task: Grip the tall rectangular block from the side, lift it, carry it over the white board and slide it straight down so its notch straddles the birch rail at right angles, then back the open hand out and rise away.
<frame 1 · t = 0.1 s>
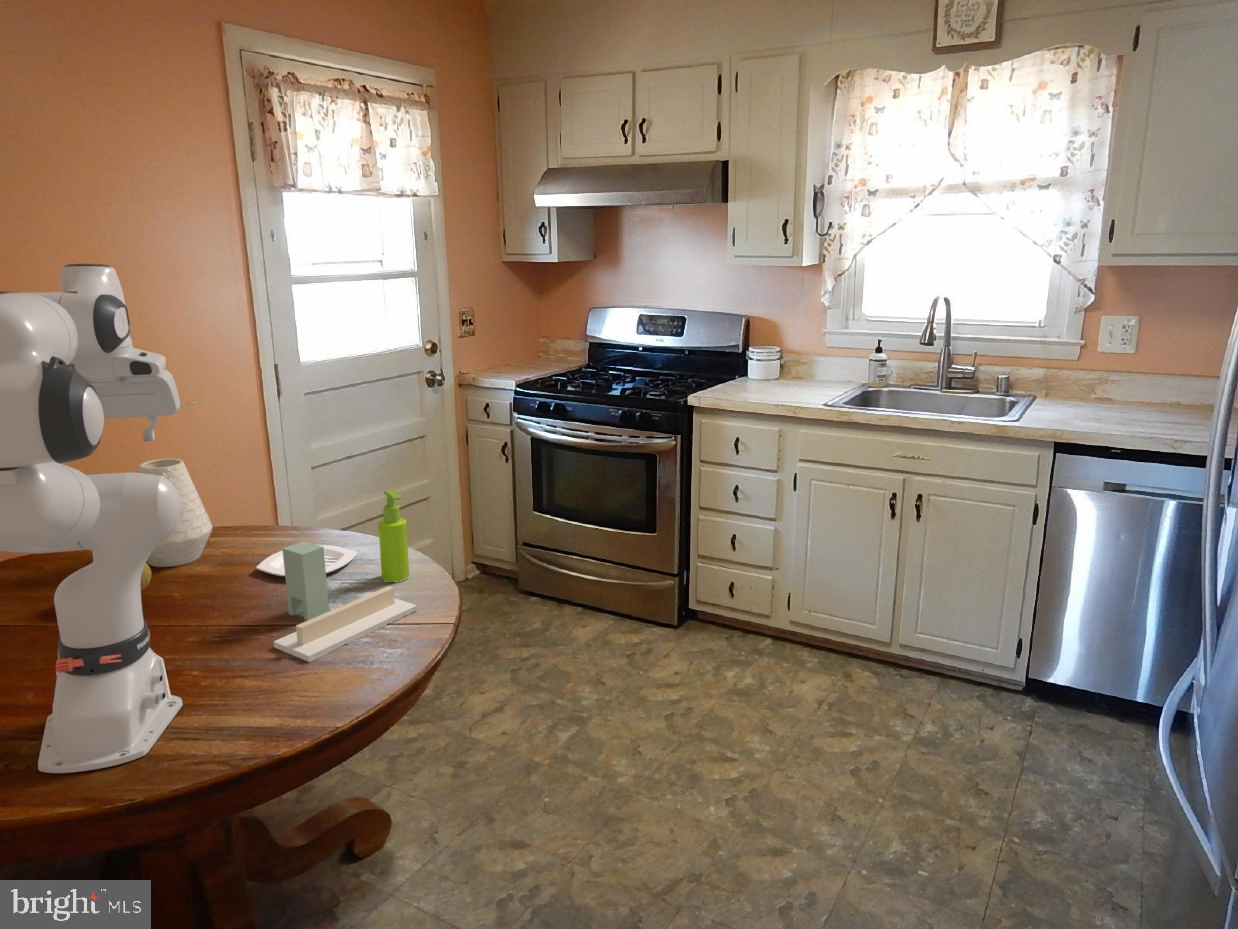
hand: (118, 441, 146), 39 cm above the table, tool pointing down, fingers open, 8 cm apart
tall rectangular block: (309, 613, 171), on the table
soap dispenser: (396, 579, 189), on the table
rail board: (349, 628, 165), on the table
plate: (308, 568, 196), on the table
fruit: (121, 601, 176), on the table
vase: (174, 559, 199), on the table
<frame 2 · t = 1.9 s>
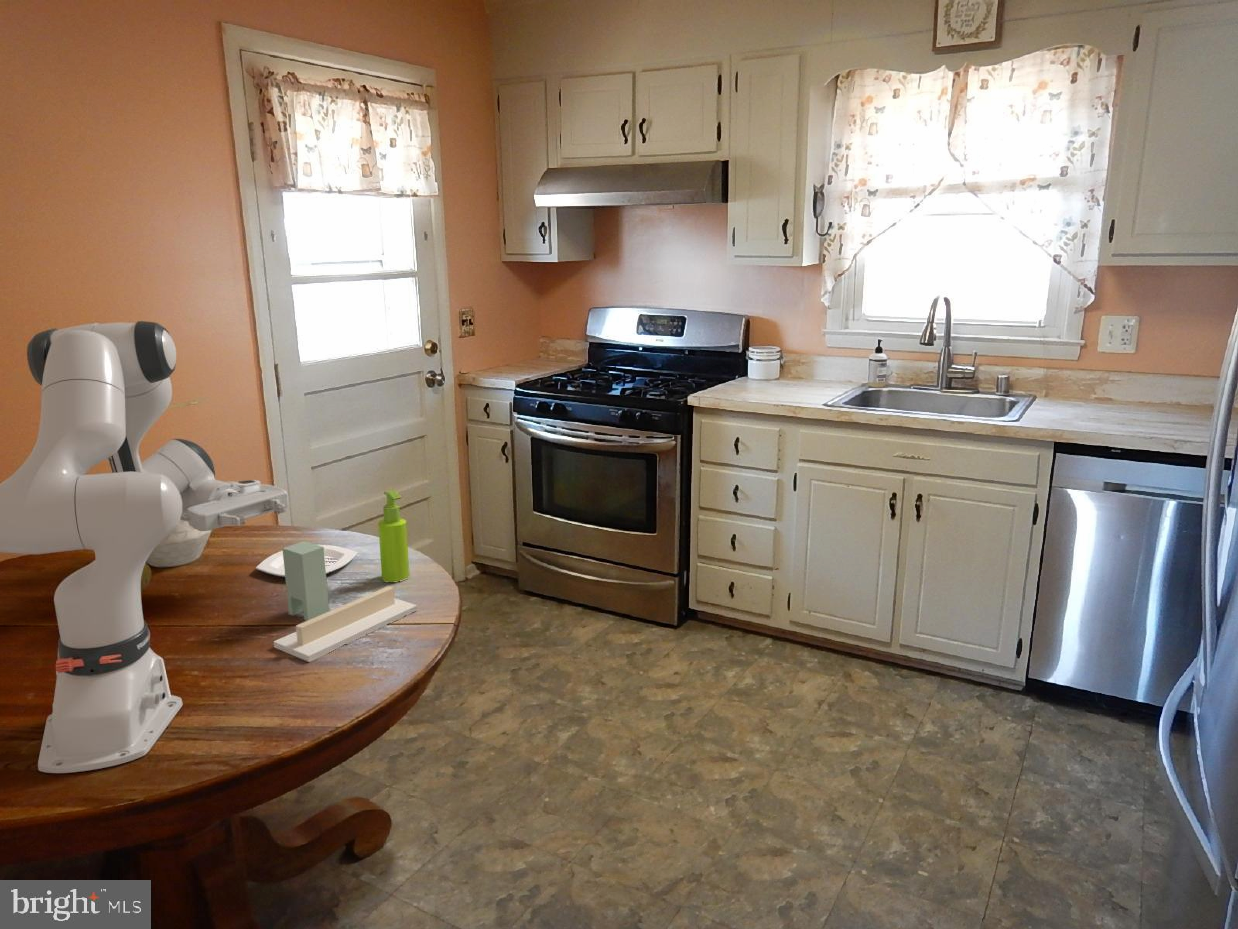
hand: (262, 515, 173), 18 cm above the table, tool horizontal, fingers open, 8 cm apart
nothing on the table moved.
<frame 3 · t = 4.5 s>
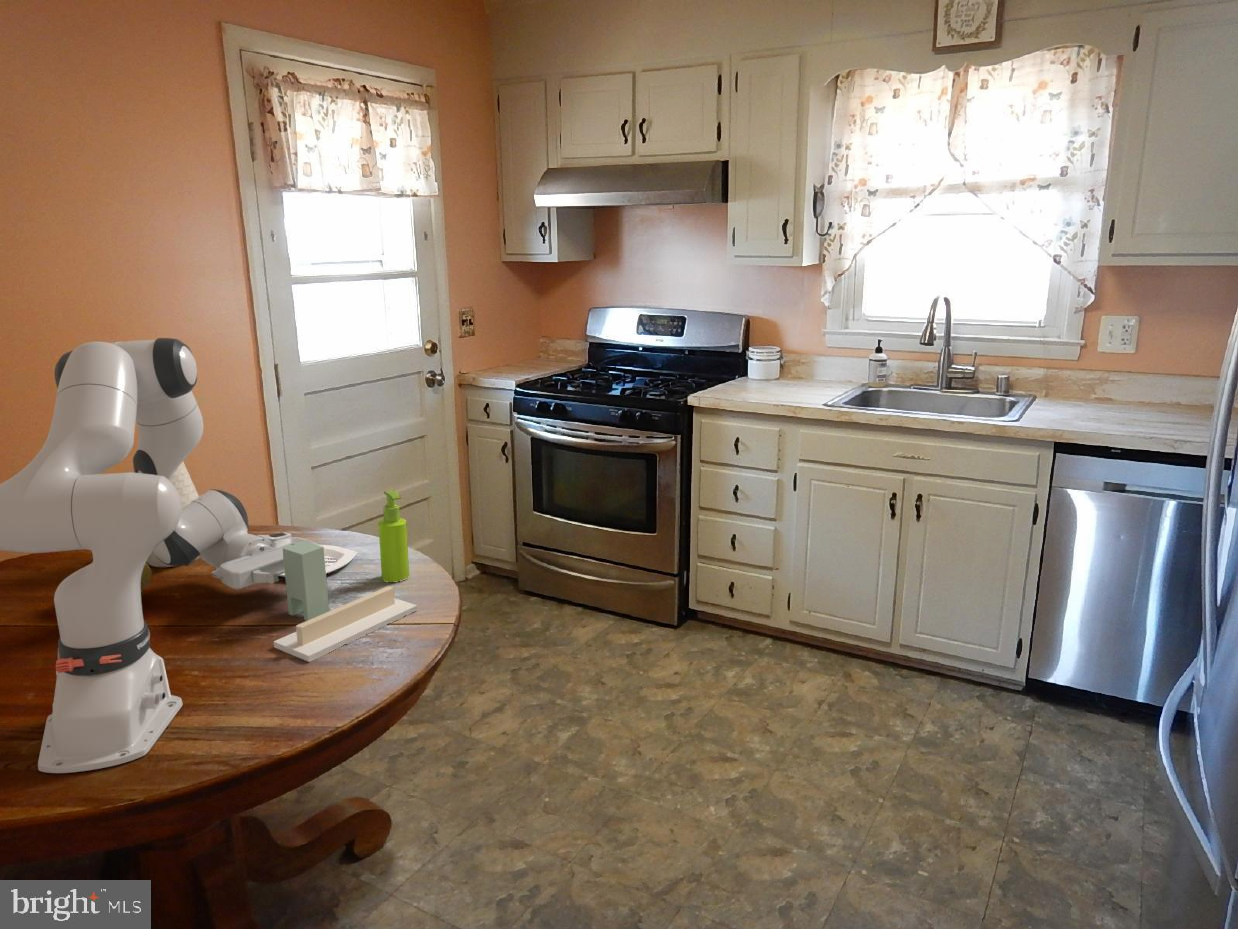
hand: (295, 571, 170), 8 cm above the table, tool horizontal, fingers open, 8 cm apart
nothing on the table moved.
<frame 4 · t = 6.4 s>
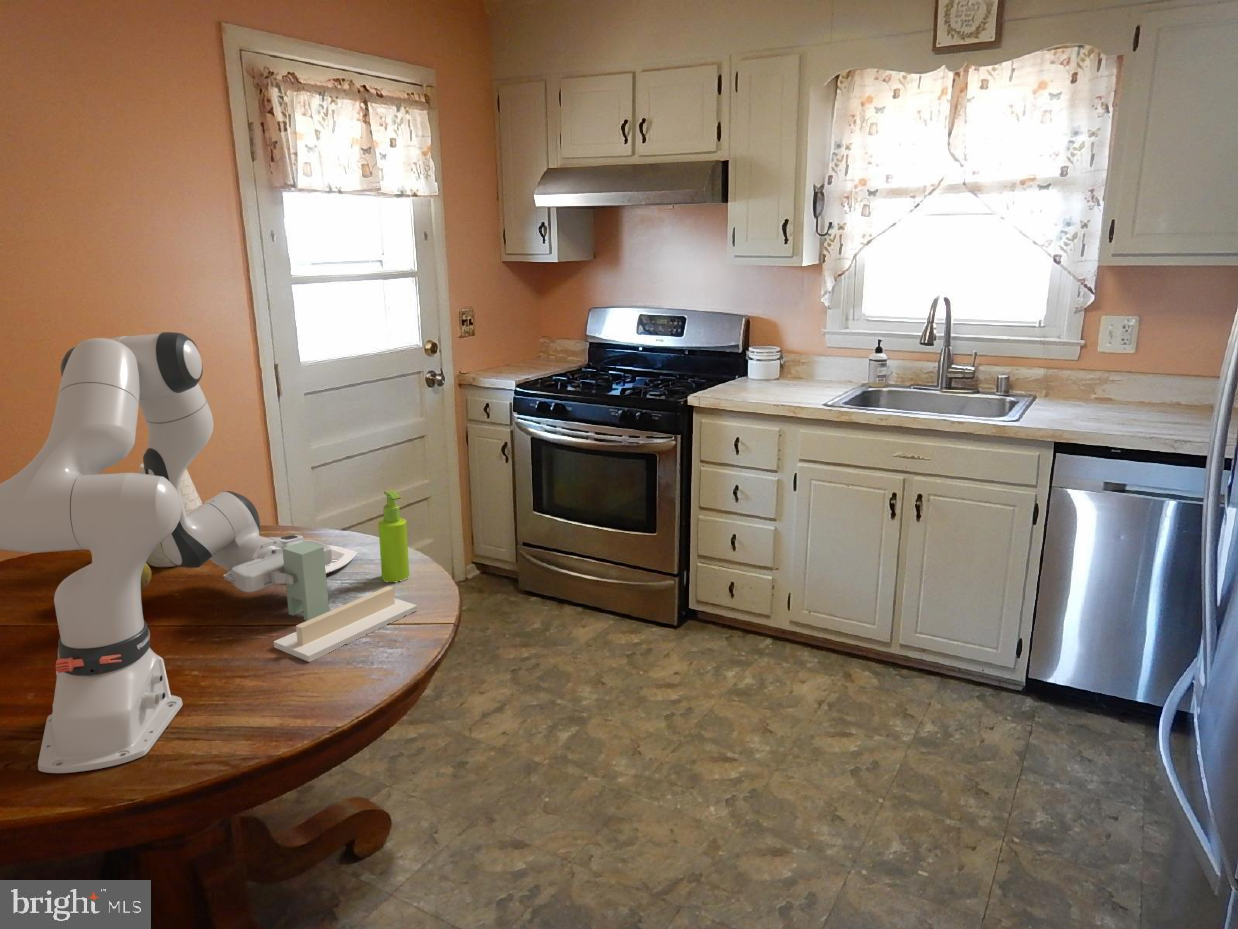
hand: (308, 574, 168), 9 cm above the table, tool horizontal, fingers closed on tall rectangular block, 5 cm apart
tall rectangular block: (309, 613, 171), on the table, touching gripper
everything else where it was.
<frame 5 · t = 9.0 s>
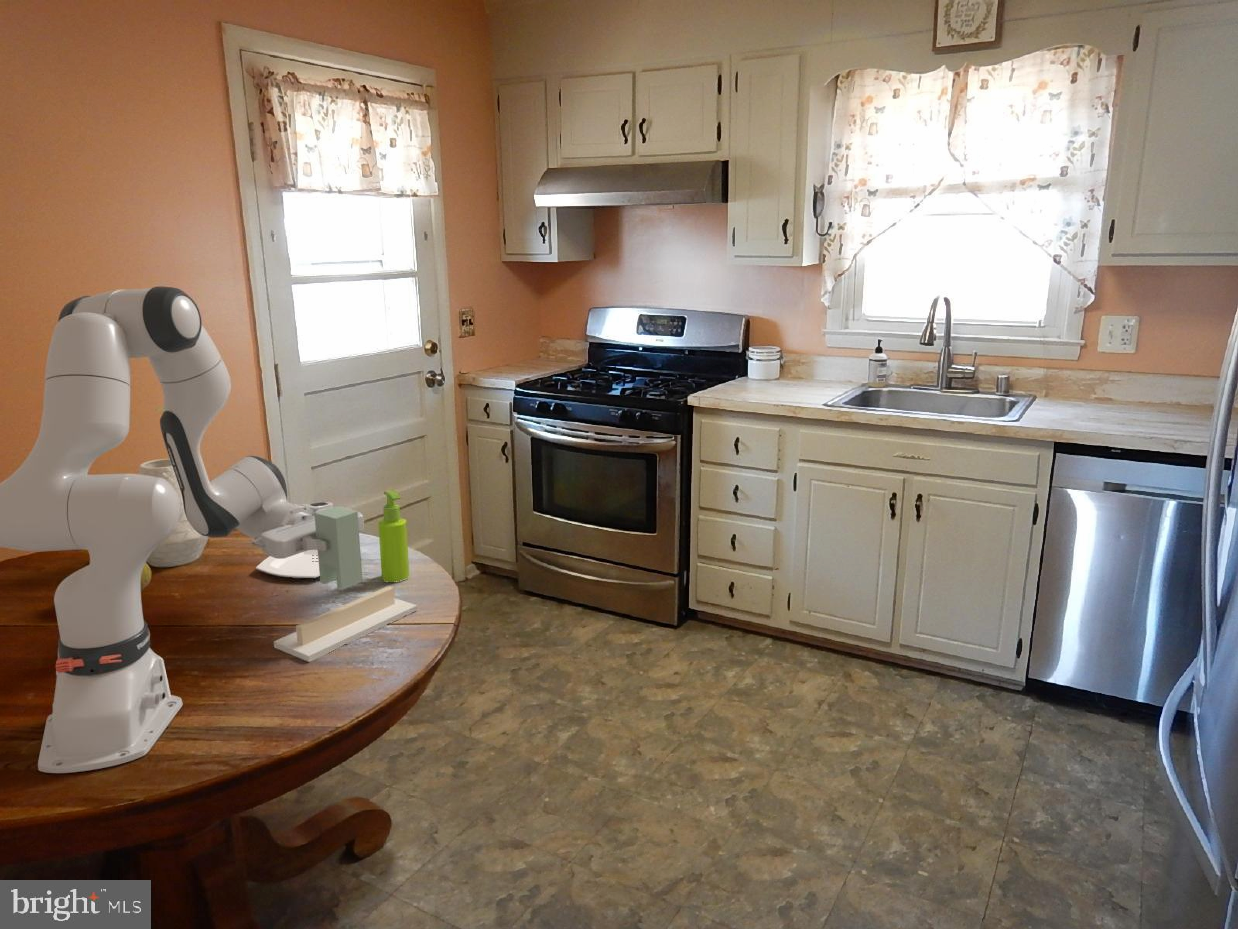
hand: (341, 540, 160), 18 cm above the table, tool horizontal, fingers closed on tall rectangular block, 5 cm apart
tall rectangular block: (341, 582, 163), point 9 cm above the table, touching gripper
everything else where it was.
when the fingers open (11 cm above the table, at t = 12.0 s): tall rectangular block stays where it is, resting on rail board.
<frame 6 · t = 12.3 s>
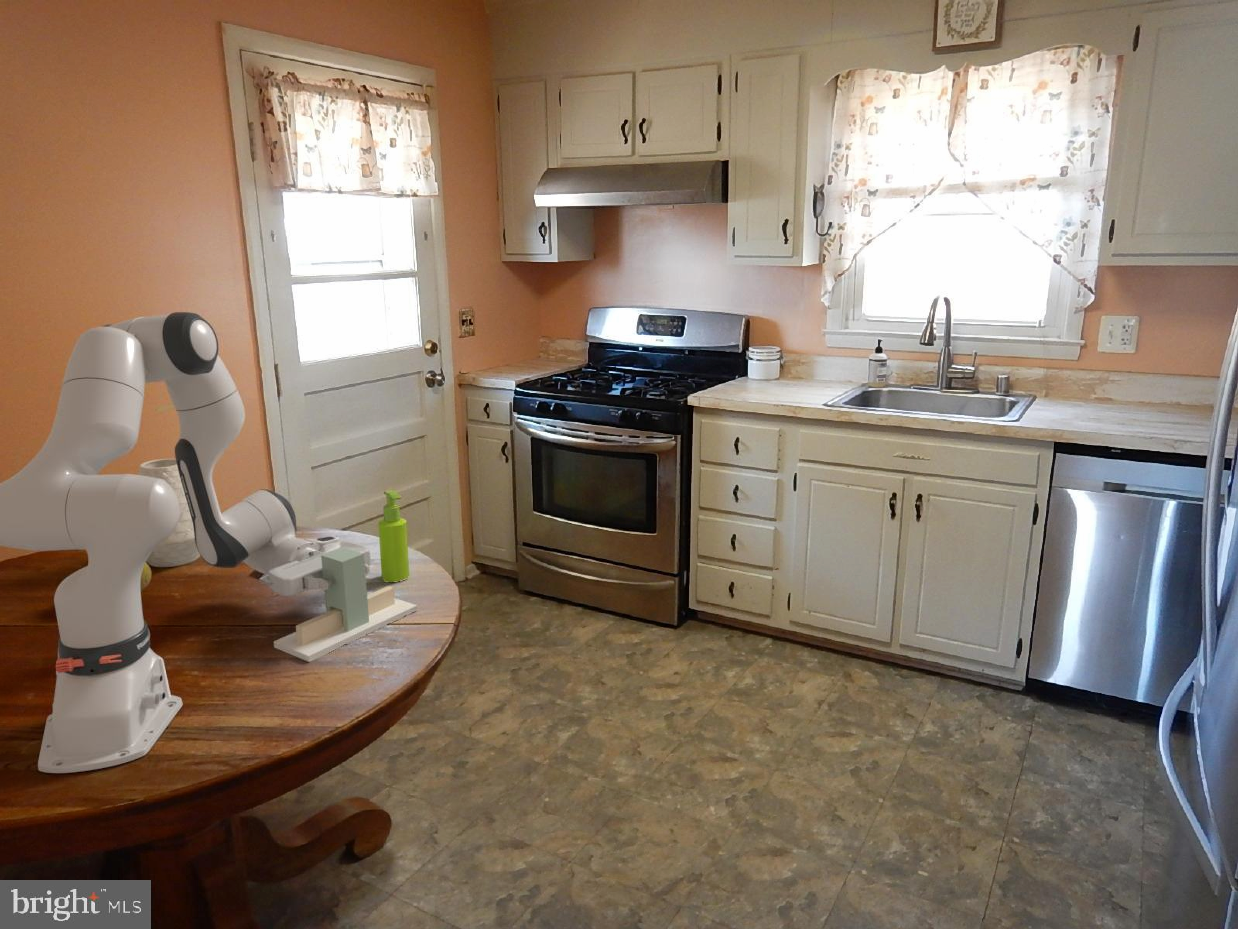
hand: (348, 577, 161), 11 cm above the table, tool horizontal, fingers open, 7 cm apart
tall rectangular block: (348, 622, 164), point 1 cm above the table, touching rail board
everything else where it was.
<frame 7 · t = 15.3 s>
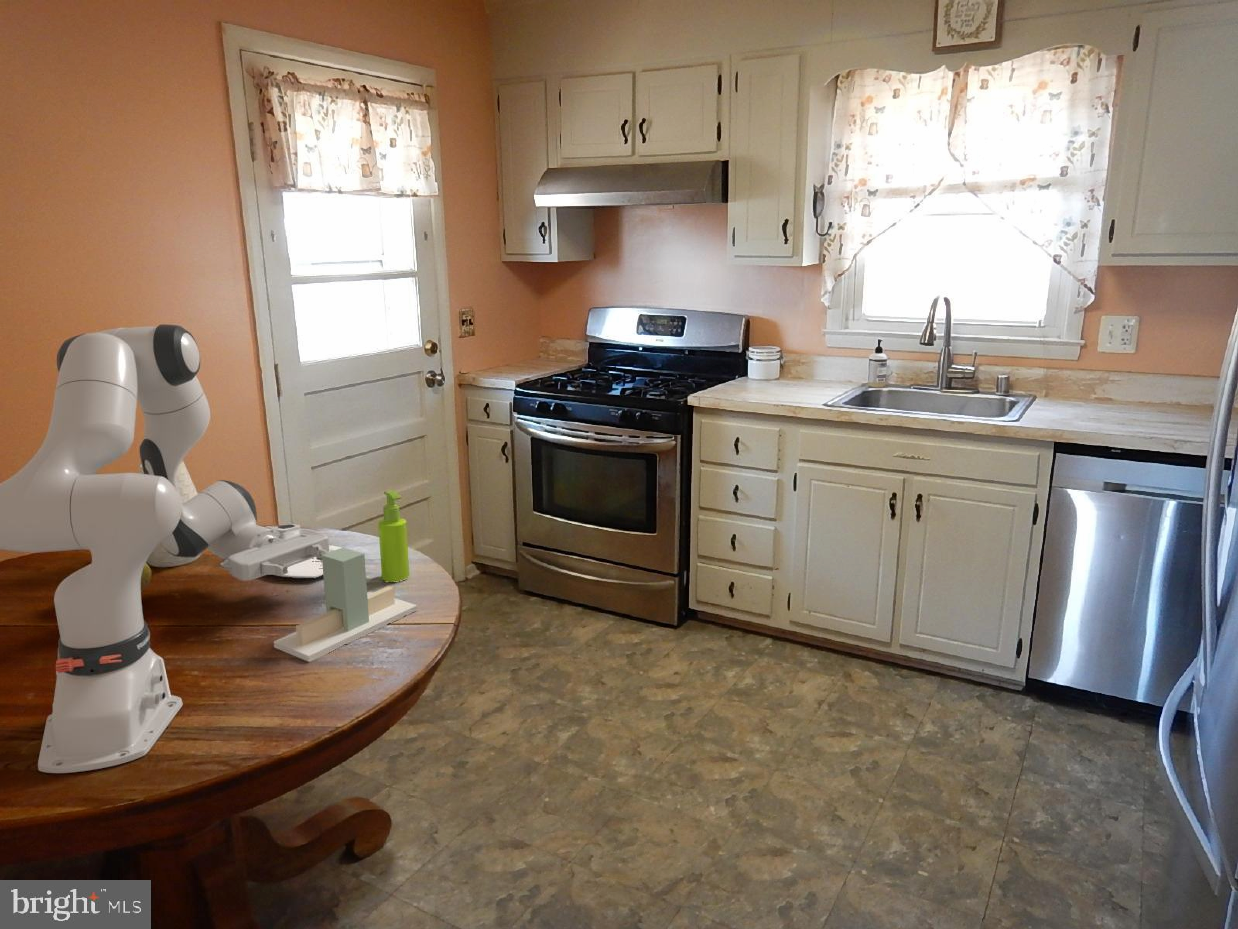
hand: (305, 563, 168), 11 cm above the table, tool horizontal, fingers open, 8 cm apart
nothing on the table moved.
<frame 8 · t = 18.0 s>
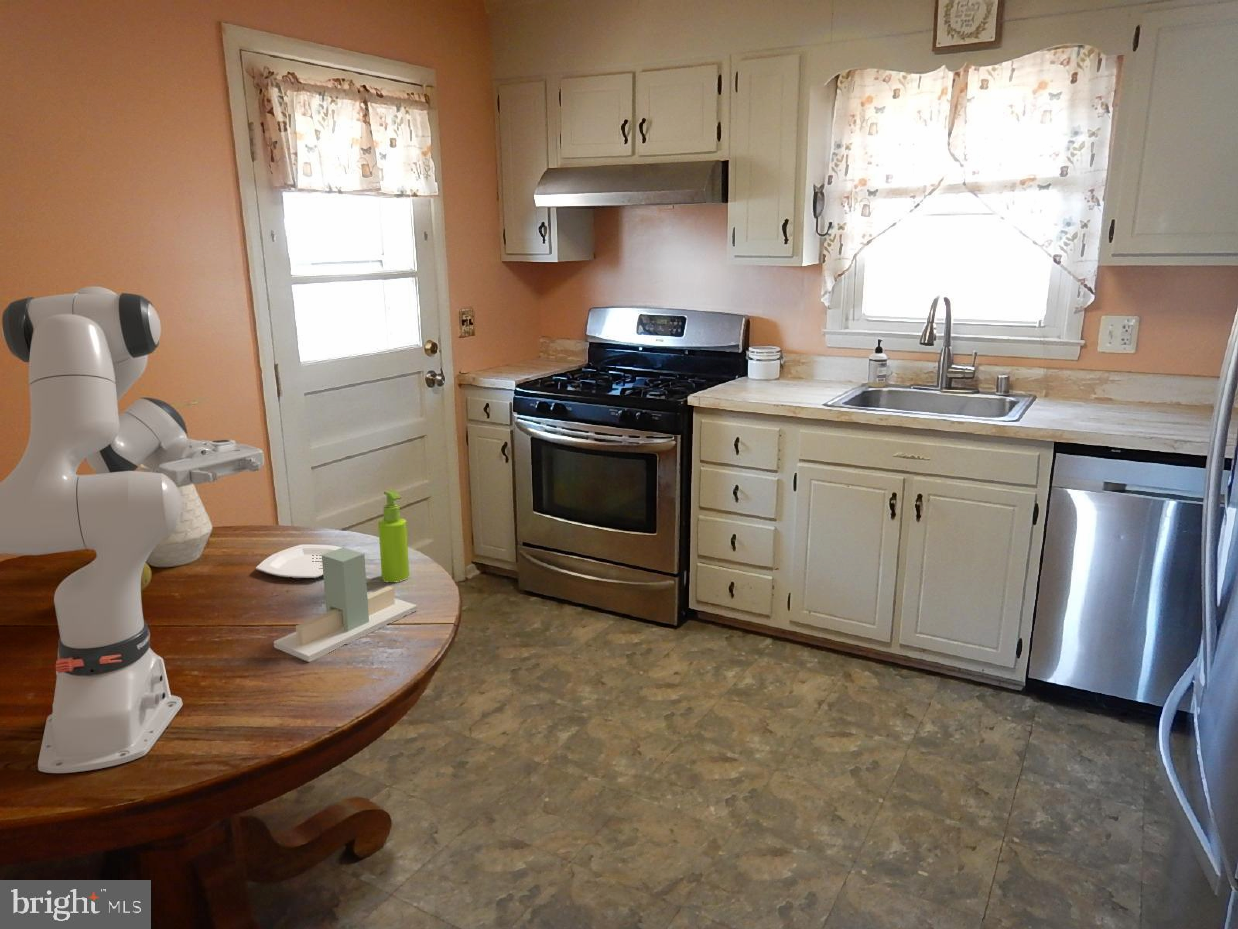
hand: (236, 472, 168), 28 cm above the table, tool horizontal, fingers open, 8 cm apart
nothing on the table moved.
at the end: tall rectangular block 0.1 cm off-centre on the rail board, point 1.2 cm above the rail board's base; tall rectangular block tilted 0°; the gripper is holding nothing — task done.
